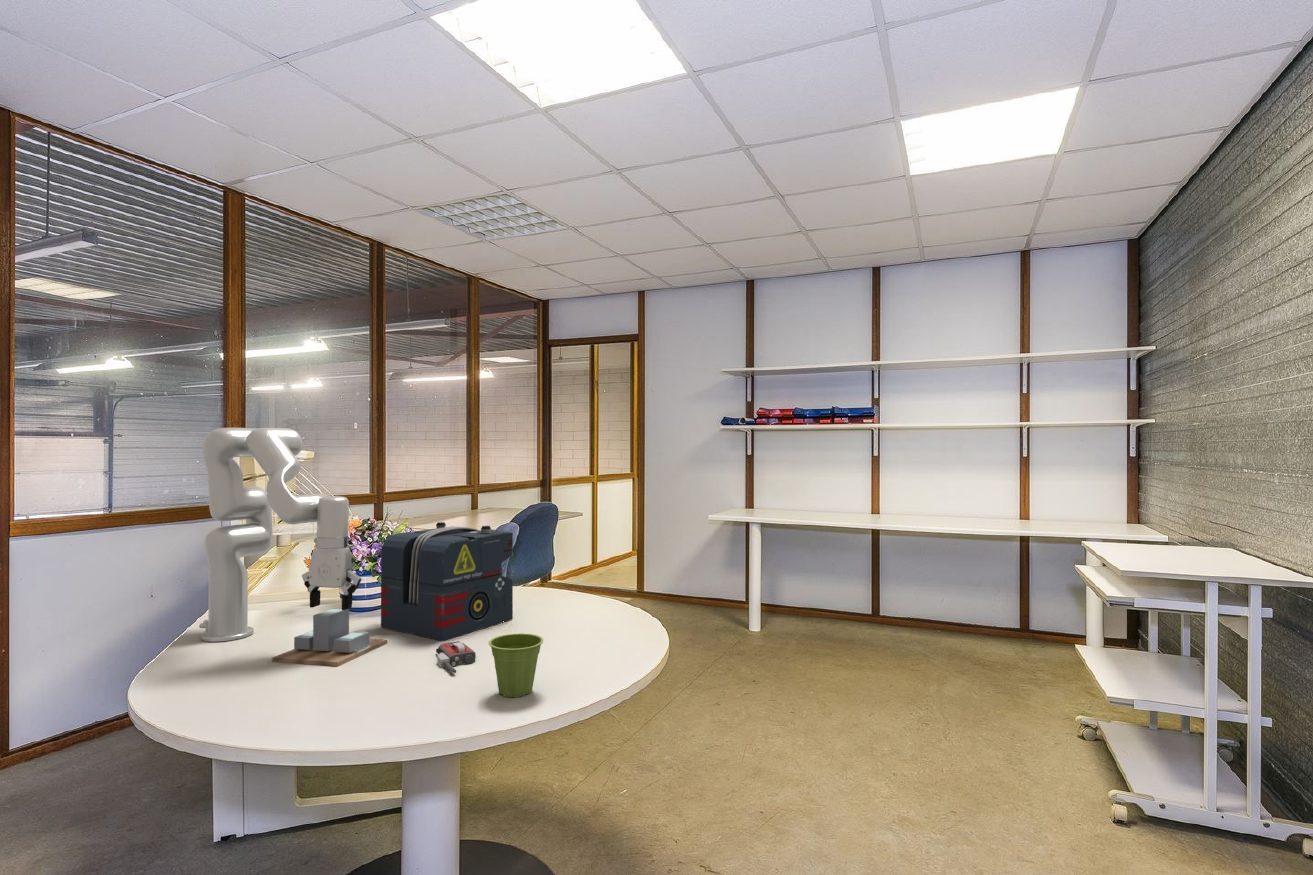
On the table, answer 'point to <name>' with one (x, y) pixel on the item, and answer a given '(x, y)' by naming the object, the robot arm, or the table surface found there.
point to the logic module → (329, 628)
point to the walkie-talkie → (454, 655)
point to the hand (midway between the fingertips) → (330, 607)
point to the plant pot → (515, 662)
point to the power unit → (445, 581)
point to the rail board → (342, 651)
